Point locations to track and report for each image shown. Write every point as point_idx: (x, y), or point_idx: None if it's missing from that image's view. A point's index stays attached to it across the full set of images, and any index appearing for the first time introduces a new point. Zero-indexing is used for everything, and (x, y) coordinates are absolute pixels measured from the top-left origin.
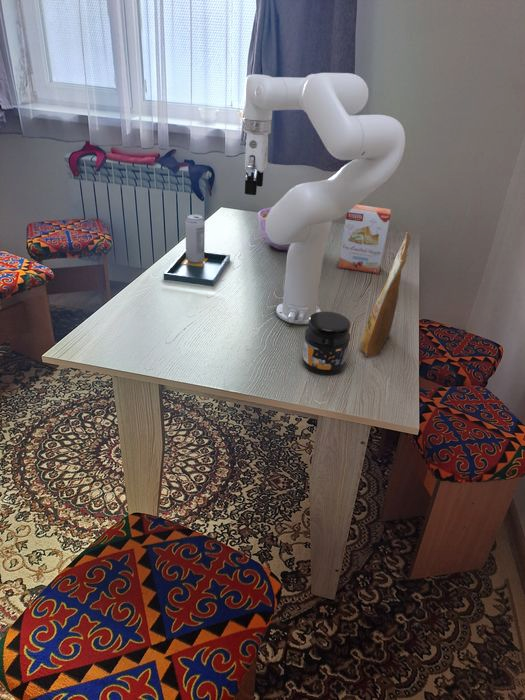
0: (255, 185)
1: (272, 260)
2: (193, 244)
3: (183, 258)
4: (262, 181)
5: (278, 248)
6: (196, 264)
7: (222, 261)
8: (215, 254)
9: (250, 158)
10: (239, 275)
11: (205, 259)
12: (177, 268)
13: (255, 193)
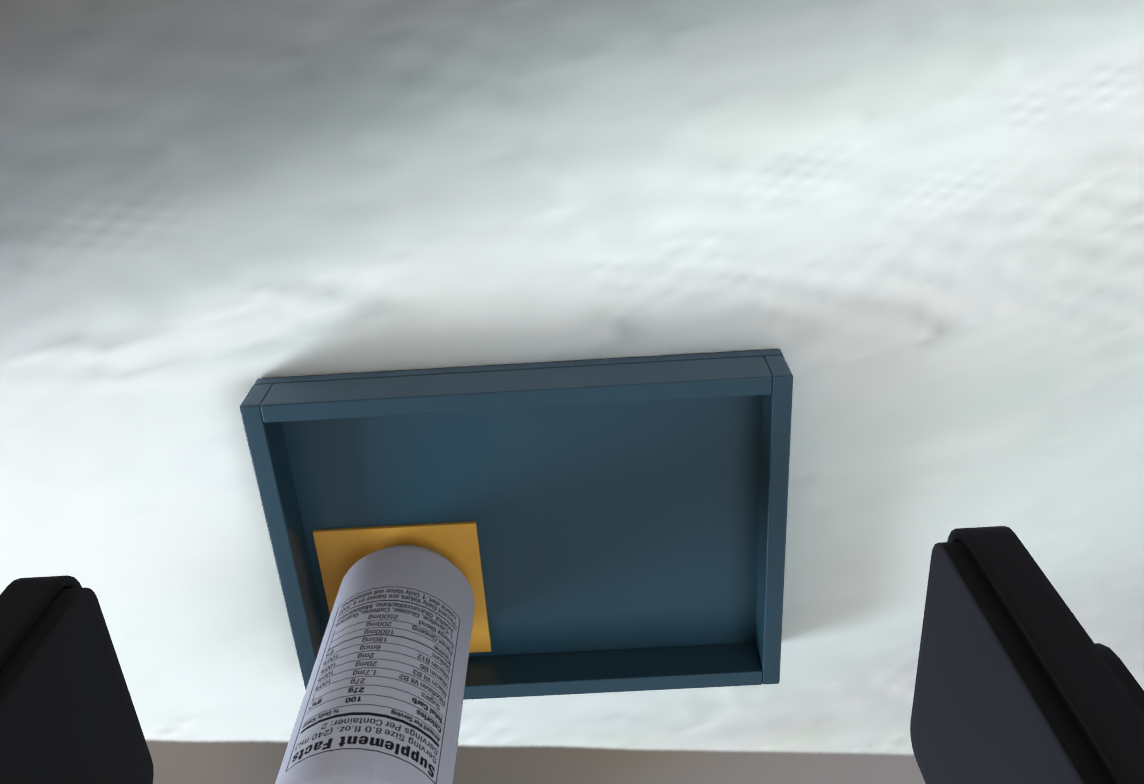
0: (1121, 721)
1: (2, 42)
2: (461, 689)
3: None
4: (1, 659)
5: None
6: (459, 565)
7: (305, 426)
8: (283, 505)
9: None
10: (477, 235)
11: (340, 541)
12: (570, 643)
13: (1016, 551)
